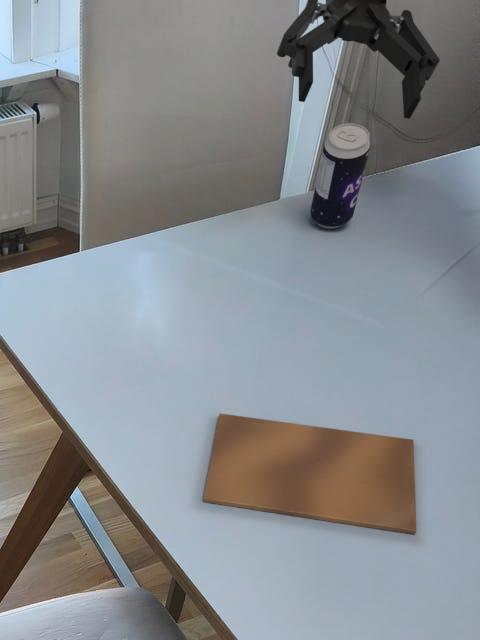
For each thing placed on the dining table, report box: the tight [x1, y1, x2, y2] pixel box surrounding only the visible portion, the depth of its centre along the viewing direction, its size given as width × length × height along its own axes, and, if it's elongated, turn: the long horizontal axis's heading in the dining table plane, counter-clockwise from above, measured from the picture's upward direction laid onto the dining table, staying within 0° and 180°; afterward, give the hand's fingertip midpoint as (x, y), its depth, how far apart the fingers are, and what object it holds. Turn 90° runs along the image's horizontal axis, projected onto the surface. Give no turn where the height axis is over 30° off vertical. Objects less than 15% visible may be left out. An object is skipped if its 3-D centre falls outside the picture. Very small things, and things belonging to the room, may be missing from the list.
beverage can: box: [309, 122, 372, 229], centre depth 116 cm, size 6×6×12 cm
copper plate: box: [202, 413, 417, 535], centre depth 89 cm, size 20×14×1 cm
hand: (359, 100), depth 110 cm, fingers open, 13 cm apart
